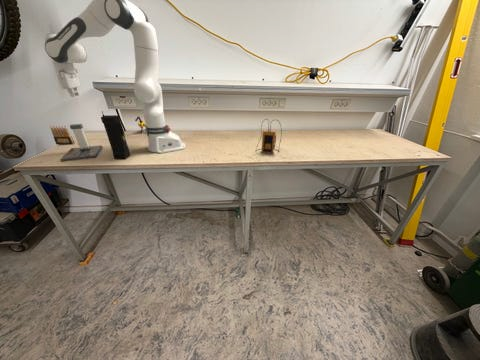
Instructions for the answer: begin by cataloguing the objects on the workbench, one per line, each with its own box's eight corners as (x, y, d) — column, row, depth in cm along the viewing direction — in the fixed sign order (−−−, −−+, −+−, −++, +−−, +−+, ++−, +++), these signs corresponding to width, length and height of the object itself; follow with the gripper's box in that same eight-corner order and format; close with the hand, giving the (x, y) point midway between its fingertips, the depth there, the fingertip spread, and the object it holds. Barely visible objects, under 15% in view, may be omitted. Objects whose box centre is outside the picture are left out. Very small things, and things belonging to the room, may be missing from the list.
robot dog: (135, 135, 147) (130, 117, 140) (147, 129, 162) (143, 113, 156) (142, 136, 146) (138, 117, 140) (153, 130, 162) (150, 113, 156)
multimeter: (279, 148, 126) (283, 116, 117) (279, 154, 118) (283, 120, 108) (257, 146, 129) (259, 115, 119) (255, 152, 120) (256, 118, 111)
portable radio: (133, 155, 113) (120, 110, 101) (128, 159, 108) (114, 112, 96) (119, 155, 113) (105, 110, 101) (113, 159, 108) (98, 112, 96)
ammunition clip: (74, 143, 130) (67, 125, 124) (72, 144, 128) (65, 126, 123) (58, 143, 130) (50, 125, 124) (56, 144, 128) (47, 126, 122)
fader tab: (90, 146, 120) (82, 123, 113) (89, 148, 116) (80, 125, 110) (81, 147, 118) (71, 124, 111) (79, 149, 115) (69, 125, 108)
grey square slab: (102, 147, 124) (102, 145, 123) (96, 157, 109) (95, 155, 109) (72, 150, 119) (71, 148, 118) (61, 161, 104) (60, 159, 103)
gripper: (65, 69, 103) (76, 98, 109) (77, 69, 119) (86, 94, 126) (50, 69, 101) (62, 98, 107) (65, 69, 117) (74, 94, 124)
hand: (75, 96), depth 117 cm, fingers open, 6 cm apart
